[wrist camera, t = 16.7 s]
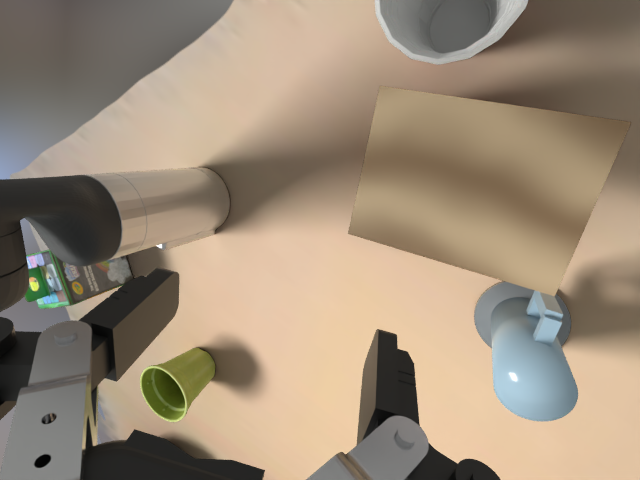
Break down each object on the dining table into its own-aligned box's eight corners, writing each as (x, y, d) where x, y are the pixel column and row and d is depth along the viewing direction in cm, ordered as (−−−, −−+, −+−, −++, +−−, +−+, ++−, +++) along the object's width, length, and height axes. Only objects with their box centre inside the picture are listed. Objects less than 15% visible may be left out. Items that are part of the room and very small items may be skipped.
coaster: (539, 371, 39) (539, 374, 38) (459, 329, 41) (459, 331, 41) (589, 306, 35) (591, 308, 35) (500, 264, 38) (500, 266, 37)
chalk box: (88, 239, 66) (-9, 261, 53) (120, 232, 62) (22, 254, 49) (104, 286, 67) (12, 319, 54) (136, 282, 63) (45, 316, 50)
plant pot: (234, 378, 59) (196, 413, 51) (201, 394, 63) (162, 429, 55) (204, 330, 59) (162, 357, 51) (173, 350, 63) (130, 378, 56)
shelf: (527, 241, 36) (554, 296, 23) (392, 205, 41) (348, 233, 28) (570, 133, 33) (631, 122, 19) (416, 108, 38) (379, 85, 24)
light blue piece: (538, 353, 38) (560, 433, 27) (483, 334, 40) (483, 401, 29) (570, 284, 35) (607, 343, 25) (509, 267, 37) (520, 314, 26)
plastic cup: (446, 111, 37) (432, 96, 26) (383, 31, 37) (344, -15, 27) (550, 24, 32) (584, -39, 21) (475, -66, 32) (471, -170, 22)
